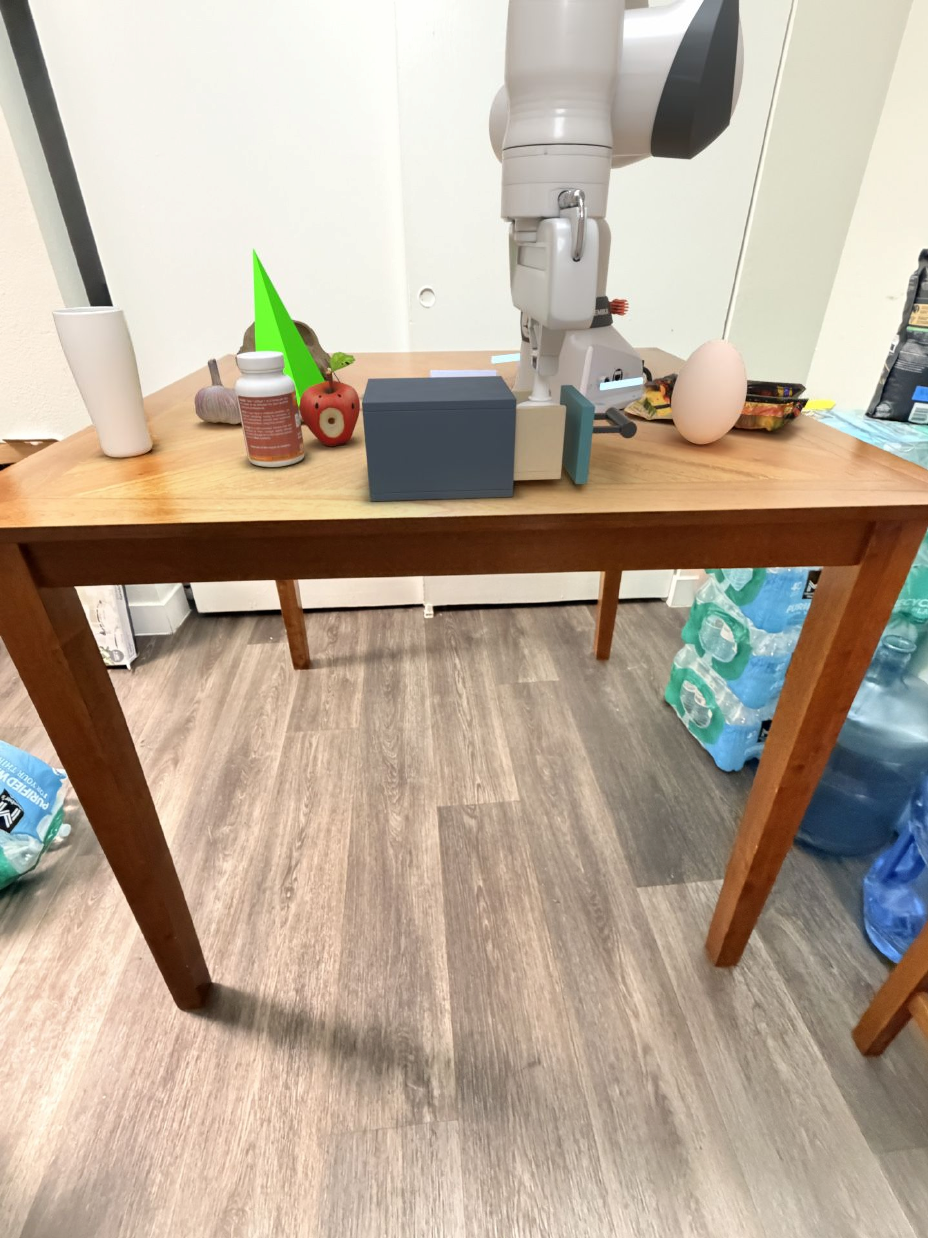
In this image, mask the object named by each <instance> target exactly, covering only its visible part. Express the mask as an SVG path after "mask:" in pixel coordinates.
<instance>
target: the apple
mask: <svg viewBox="0 0 928 1238" xmlns="http://www.w3.org/2000/svg"><path fill="white" fill-rule="evenodd" d="M330 357H331V358H330V367H331V368H330V370H329V369H328V371H327V372H326V376H327V378H328V381H325V382H322V383H319V384H316V385H313V386H311V387H309V388H307V389H306V390H305V391H304V393H303V395H302V397H301V399H300V404H299V409H300V414H301V417H302V419H303V421H304V422H303V423H304V424H305V425H306V427H307V428H308V430H309V431H310V432H311V433H312V434H313V436H314V437H315V438H316V439H317V440H318V441H319V442H320V443H321V444H323V445H324V446H327V447H335V446H341V445H346V444H348V443H349V442H350V441H351V439H352V437H353V435H354V432H355V428H356V426H357V422H358V420H359V418H360V417H359V416H360V412H361V411H360V410H361V401H360V397H359V393H358V392H357V390H356V389H355V388H354V387H353V386H351V385H349V384H347V383H345V382H341V381H340V382H339V381H338V380H334V378H333V377H334V376H333V374H334V373H335V372H336V371H338V370H341V369H343V368H346V367H349V366H350V365H352V364H354V362H356V359H355V357H354V355H351V354H347V353H344V352H342V351H338V352H337V351H336V352H334V353H333V354H332V356H330ZM333 372H334V373H333Z"/></svg>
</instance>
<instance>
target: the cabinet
mask: <svg viewBox="0 0 928 1238" xmlns="http://www.w3.org/2000/svg"><path fill="white" fill-rule="evenodd" d="M511 390H512V389H511V388H510V387H509V386H508V384H507V383H506V381H505V380H504V378H503V376H501V375H497V376H477V377H430V376H428V377H388V378H387V377H386V378H385V377H384V378H382V377H381V378H377V377H376V378H368V379H367V382H366V385H365V390H364V392H363V394H364V395H363V396H362V401H361V410H362V420H363V421H362V422H363V432H364V446H365V455H366V466H367V468H366V469H367V478H368V479H367V480H368V490H369V500H370V502H399V501H428V500H429V501H430V500H458V499H459V500H460V499H487V498H488V499H491V498H513V496H514V481H515V480H514V454H515V428H516V402H517V399H516V398H515V396H514V395H513V393H512V392H511Z"/></svg>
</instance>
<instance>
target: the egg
mask: <svg viewBox="0 0 928 1238" xmlns="http://www.w3.org/2000/svg"><path fill="white" fill-rule="evenodd" d="M747 380H748V376H747V371H746V365H745V361H744V359H743V356H742V354H741V353H740V351H739V350H738V348H737V347H736V346H735V345H734V344H733V343H731V342H730V341H728V340H726V339H722V338H721V339H720V338H715V339H711V340H708V341H706V342H705V343H703V344H701V345H699V347H698V348H696V349H695V350H694V351H692V353H691V354H690V355H689V357H688V358H687V359H686V361H685V362H684V364H683V366H682V367H681V369H680V371H679V372H678V377H677V380H676V382H675V385H674V389H673V393H672V399H671V412H672V417H673V419H672V421H673V423H674V425H675V427H676V429H677V431H678V432H679V433H680V435H681V436H682V437H683V438H684V439H685V440H686V441H688V442H689V443H692V444H696V445H707V444H711V443H714V442H716V441H717V440H719V439H721V438H722V437H723V436H725V435H726V434H727V433H728V432H729V431H730V430H732V428H733V427H735V426H734V424H735V423H736V421H737V420H738V418H739V417H740V414H741V412H742V410H743V407H744V404H745V399H746V393H747Z"/></svg>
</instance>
